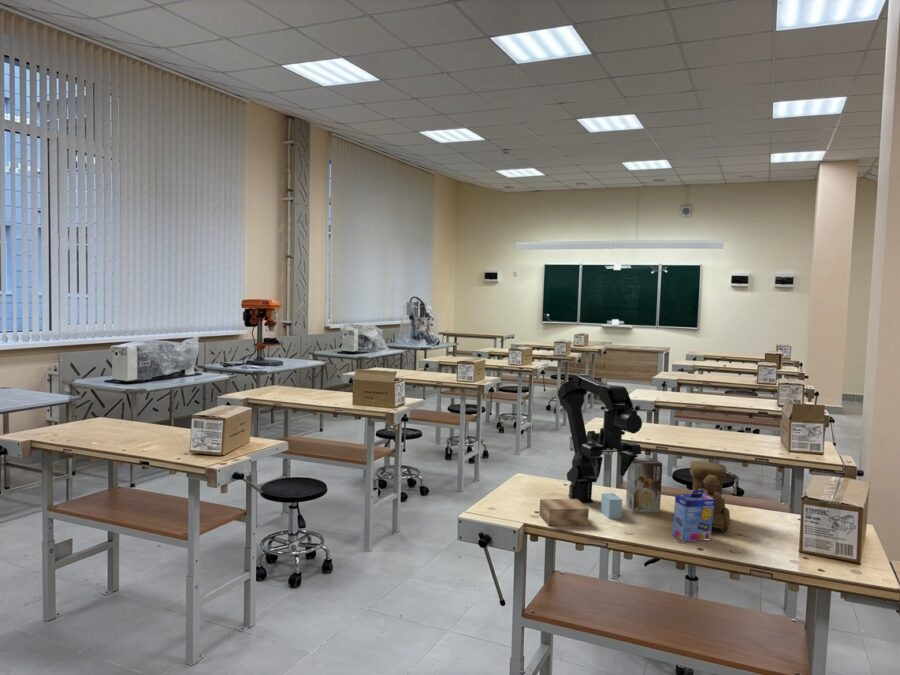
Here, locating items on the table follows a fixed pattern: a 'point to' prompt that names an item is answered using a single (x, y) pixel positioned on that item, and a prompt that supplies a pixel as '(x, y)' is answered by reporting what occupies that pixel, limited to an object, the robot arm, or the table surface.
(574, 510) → the brown wooden block
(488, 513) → the table surface
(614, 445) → the robot arm
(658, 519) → the table surface
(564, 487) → the table surface
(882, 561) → the table surface
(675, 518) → the ink cartridge box
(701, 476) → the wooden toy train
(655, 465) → the coffee box
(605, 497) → the block
